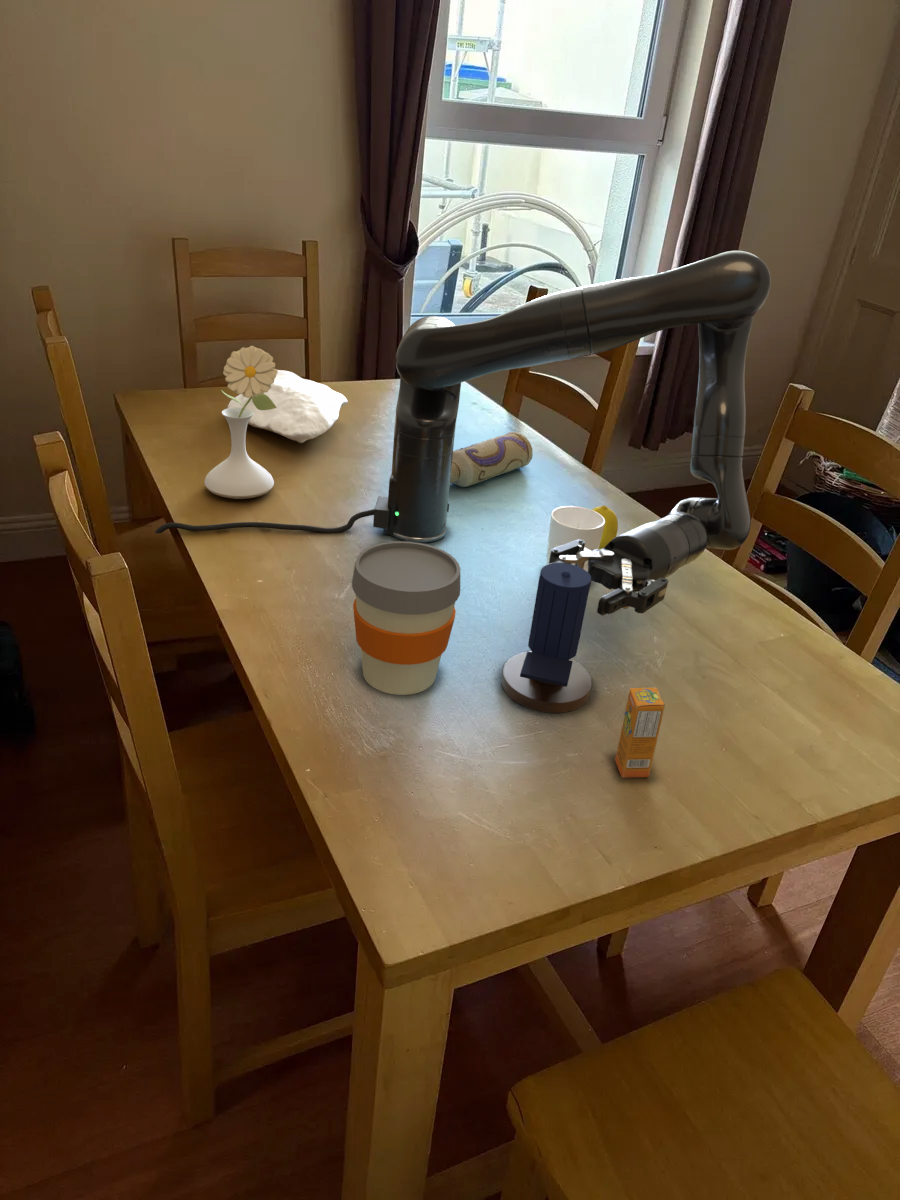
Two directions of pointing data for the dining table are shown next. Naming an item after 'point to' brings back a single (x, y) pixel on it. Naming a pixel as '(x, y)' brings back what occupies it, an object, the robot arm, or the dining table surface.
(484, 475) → the decorative bottle
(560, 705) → the paper towel holder
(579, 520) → the white cup
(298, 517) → the dining table surface
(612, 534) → the lemon
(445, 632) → the reusable coffee cup
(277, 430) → the crumpled cloth
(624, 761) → the supplement box
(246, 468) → the flower in vase
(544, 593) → the navy lidded canister
